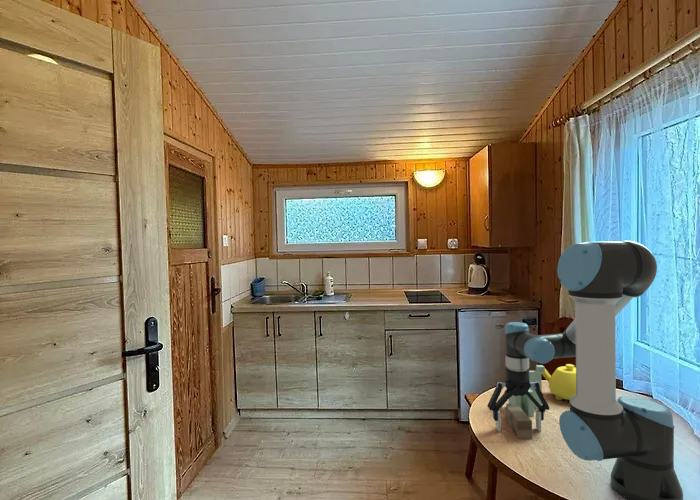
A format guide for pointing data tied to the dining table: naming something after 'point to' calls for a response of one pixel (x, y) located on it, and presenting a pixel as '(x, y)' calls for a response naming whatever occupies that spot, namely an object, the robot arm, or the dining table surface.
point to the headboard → (525, 400)
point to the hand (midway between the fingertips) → (518, 429)
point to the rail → (518, 422)
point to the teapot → (562, 381)
